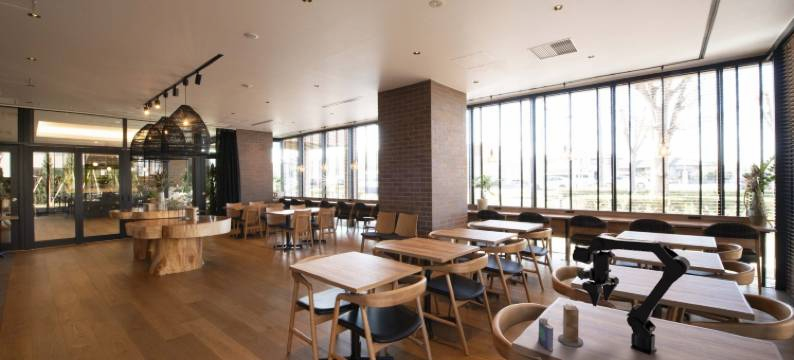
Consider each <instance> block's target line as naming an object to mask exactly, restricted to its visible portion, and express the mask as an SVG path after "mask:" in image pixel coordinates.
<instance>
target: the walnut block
mask: <svg viewBox="0 0 794 360" xmlns="http://www.w3.org/2000/svg"><path fill="white" fill-rule="evenodd" d="M572 305H573V304H572ZM572 305H565V304H563V306H562V307H563V314H562V316H563V319H562V320H563V323H562V325H563V326H562V330H563V331H562V334H563V337H564V339H565V341H566V342H573V343H578V337H579V321H580V320H579V318H580V317H579V309H578V306H576V305H573V306H572Z"/></svg>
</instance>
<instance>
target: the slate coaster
mask: <svg viewBox="0 0 794 360" xmlns="http://www.w3.org/2000/svg"><path fill="white" fill-rule="evenodd" d="M557 340H558V342H560V343H561V344H563V345H564V346H568V347H571V348H572V347H573V348H579V347H582V346H583V345H584V341H583V339H582V338H580V337H579V336H578V343H573V342H566V341H565V339H564V337H563V333H562V334H559V335H558V337H557Z"/></svg>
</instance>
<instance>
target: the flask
mask: <svg viewBox="0 0 794 360" xmlns="http://www.w3.org/2000/svg"><path fill="white" fill-rule="evenodd" d="M548 321H549V318H545V317H540V318H539V319H538V343H539V344H540V346H542V347H543V348H544V349H545V350H546V351H548V352H553V351H554V326H553V325H550V324H549V322H548Z"/></svg>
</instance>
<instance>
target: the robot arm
mask: <svg viewBox="0 0 794 360" xmlns="http://www.w3.org/2000/svg"><path fill="white" fill-rule="evenodd" d="M615 250H623V251H632V252H644V253H645V252H647V253H653V254H654V255H655V256H656V257H657V259H658V260H659V261H660V262H661V263H662V264H663V265H664V266H665V267H664V269H663V271H662V275H661V277H660V278H659V280H658V282H657V283H655V286H654V287H653V288H652V290H651V291H650V293H649V294H648V295H647V297H646V298H645V299H644V300H643V302H642V303H641V304H638V303H635V304H634V305H633V306H632V307H631V308H630V311H629V312H628V313H627V314H626V316H627V318H626V322H627V324H628V326H629V327H630V328H631V331H632V333H631V335H630V337H631V338H630V339H631V340H630V342H631V343H630V344H631V345H630V348H632V349H634V350H636V351H640V352H642V353H644V354H647V355H651V354H653V353H654V352H656V351H657V347H655V345H656V344H655V343H656V334H654V332H655V330H656V328H657V326H656V325H655V324H654V323H653V321H651V320H650V319H651V317H652V315H653V311H654V310H655V309H656V307H657V305H659V302H660V301H661V300H662V299H663V297H664V296H665V294H666V293H667V292H668V291H669V289H670V288H671V287H672V285H673V284H674V283H675V282H677V281H678V280H679V279H681V277H683V276H684V275H685V274H686V273H687V272H688V271H689V269H690V268H691V262H690V261H689V259H688V258H686V257H684V256H682V255H679V254H678V253H677V252H676V251H674V250H673V249H671V248H669V247H668V246H666V245H665V244H664V243H663V242H662V241H660V240H654V241H652V240H640V239H625V238H617V237H615V236H612V235H607V234H600V235H597V236H594V237H593V238H592V240H591V244H590V245H589V246H588V247H586V246H581V245H579V244H578V245H575V246H574V249H573V252H572V255H571V256H572V261H574V262H578V263H584V264H586V265H587V264H589V265H590V263H592V267H589V268H590V269H585V270H584V269H579V270H578V271H577V273H576V274H577V275H576V276H577V278H579V280H581V281H582V280H587V281H584V282H582V283H581V289H582V290H584V291H586V292H587V293H588V295H589V297H590V300H591V303H592V306H593V307H597V306H598V303H599V301H600V298H601V296H602V295H603V300H604V302H608V301H609V299H610V298H611V295H612V294H613V293H614V291H615V289H616V288H617V287H618V285H619V284H620V279H619V277H618V276H615V275H611V274H610V273H611V272H612V268H610V258H611V259H612V258H614V257H616V254H615V253H614V252H613V251H615ZM596 251H597V252H596Z"/></svg>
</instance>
